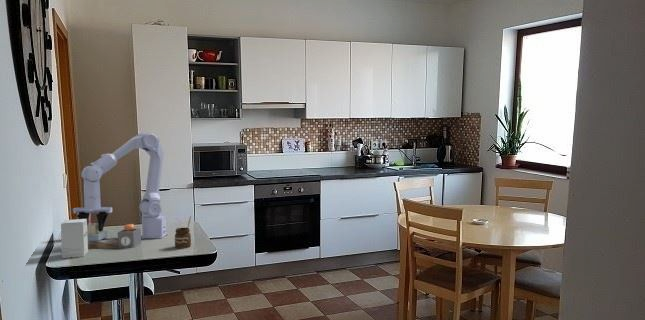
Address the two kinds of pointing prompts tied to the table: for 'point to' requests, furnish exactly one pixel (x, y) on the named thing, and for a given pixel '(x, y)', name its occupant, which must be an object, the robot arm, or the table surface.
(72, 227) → the supplement box
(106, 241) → the rail track
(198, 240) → the table surface
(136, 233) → the cabinet
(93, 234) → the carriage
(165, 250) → the table surface
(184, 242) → the brown jar with straw
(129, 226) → the button
